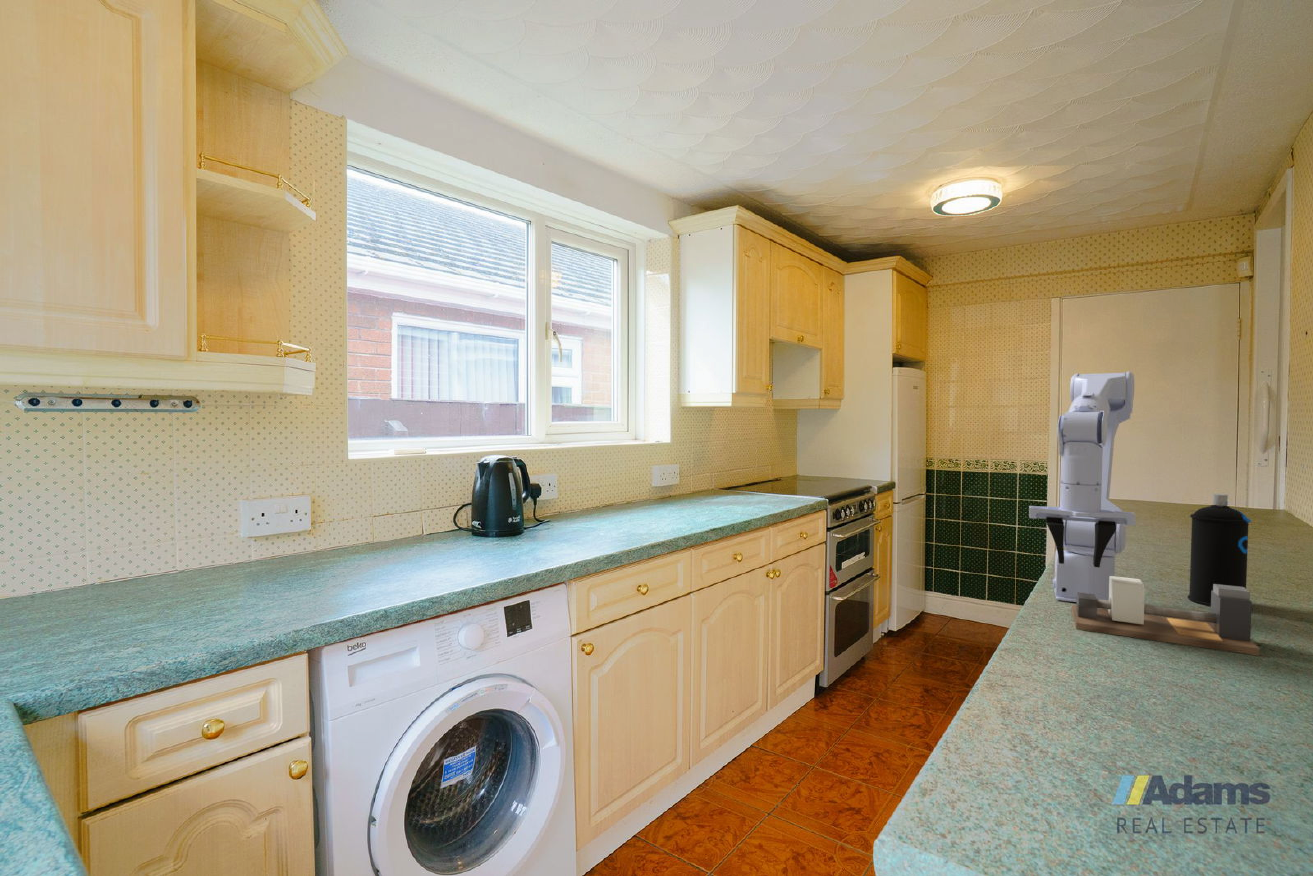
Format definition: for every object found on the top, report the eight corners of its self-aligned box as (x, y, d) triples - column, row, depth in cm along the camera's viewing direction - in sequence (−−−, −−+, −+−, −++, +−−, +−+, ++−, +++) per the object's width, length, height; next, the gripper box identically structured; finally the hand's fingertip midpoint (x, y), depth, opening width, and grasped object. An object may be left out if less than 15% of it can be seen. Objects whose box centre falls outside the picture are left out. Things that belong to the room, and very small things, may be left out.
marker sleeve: (1112, 620, 100) (1113, 582, 99) (1108, 611, 104) (1109, 575, 104) (1143, 624, 98) (1144, 586, 97) (1138, 615, 102) (1139, 579, 102)
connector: (1218, 637, 93) (1220, 590, 93) (1210, 627, 97) (1211, 582, 97) (1250, 641, 91) (1252, 593, 91) (1239, 631, 96) (1241, 585, 95)
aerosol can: (1194, 605, 112) (1198, 495, 112) (1181, 594, 120) (1185, 490, 119) (1255, 612, 108) (1259, 498, 108) (1238, 600, 116) (1242, 493, 115)
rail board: (1076, 628, 100) (1076, 603, 99) (1071, 610, 109) (1071, 586, 109) (1259, 655, 89) (1260, 626, 88) (1236, 632, 98) (1237, 606, 98)
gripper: (1030, 483, 103) (1028, 563, 104) (1139, 488, 96) (1136, 575, 97) (1029, 479, 110) (1028, 555, 110) (1132, 484, 102) (1129, 565, 103)
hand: (1078, 564), depth 104 cm, fingers open, 4 cm apart
